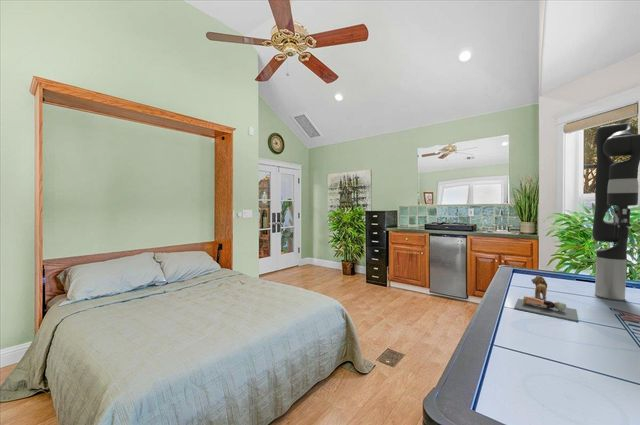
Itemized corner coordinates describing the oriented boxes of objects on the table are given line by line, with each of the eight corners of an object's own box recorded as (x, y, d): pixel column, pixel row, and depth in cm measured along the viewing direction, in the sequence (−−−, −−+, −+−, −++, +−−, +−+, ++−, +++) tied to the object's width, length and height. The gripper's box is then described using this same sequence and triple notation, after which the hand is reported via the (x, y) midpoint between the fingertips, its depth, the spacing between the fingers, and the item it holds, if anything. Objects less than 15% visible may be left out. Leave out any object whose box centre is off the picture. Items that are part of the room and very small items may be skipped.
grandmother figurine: (524, 292, 113) (566, 297, 105) (524, 301, 113) (566, 307, 105) (522, 299, 107) (566, 306, 99) (523, 309, 108) (566, 316, 99)
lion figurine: (530, 293, 126) (530, 273, 126) (545, 295, 123) (546, 275, 123) (534, 303, 113) (535, 281, 113) (551, 305, 110) (552, 283, 110)
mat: (518, 299, 117) (518, 298, 117) (576, 310, 105) (576, 309, 105) (514, 308, 106) (514, 307, 106) (578, 322, 95) (578, 320, 95)
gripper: (642, 191, 92) (640, 240, 93) (634, 192, 103) (632, 236, 103) (609, 191, 97) (607, 238, 97) (605, 192, 108) (603, 234, 108)
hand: (620, 237), depth 100 cm, fingers open, 8 cm apart
